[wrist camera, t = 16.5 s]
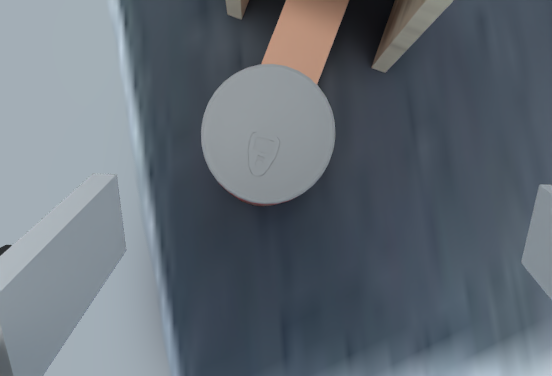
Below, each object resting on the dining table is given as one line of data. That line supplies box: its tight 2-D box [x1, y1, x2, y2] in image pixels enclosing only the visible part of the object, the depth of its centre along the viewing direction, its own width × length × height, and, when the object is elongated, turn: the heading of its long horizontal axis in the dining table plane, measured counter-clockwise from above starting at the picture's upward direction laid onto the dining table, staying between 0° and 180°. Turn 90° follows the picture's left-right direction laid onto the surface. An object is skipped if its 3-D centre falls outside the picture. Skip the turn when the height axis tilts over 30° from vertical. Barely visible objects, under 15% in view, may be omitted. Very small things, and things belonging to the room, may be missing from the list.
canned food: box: [201, 64, 335, 206], centre depth 32 cm, size 8×8×11 cm
